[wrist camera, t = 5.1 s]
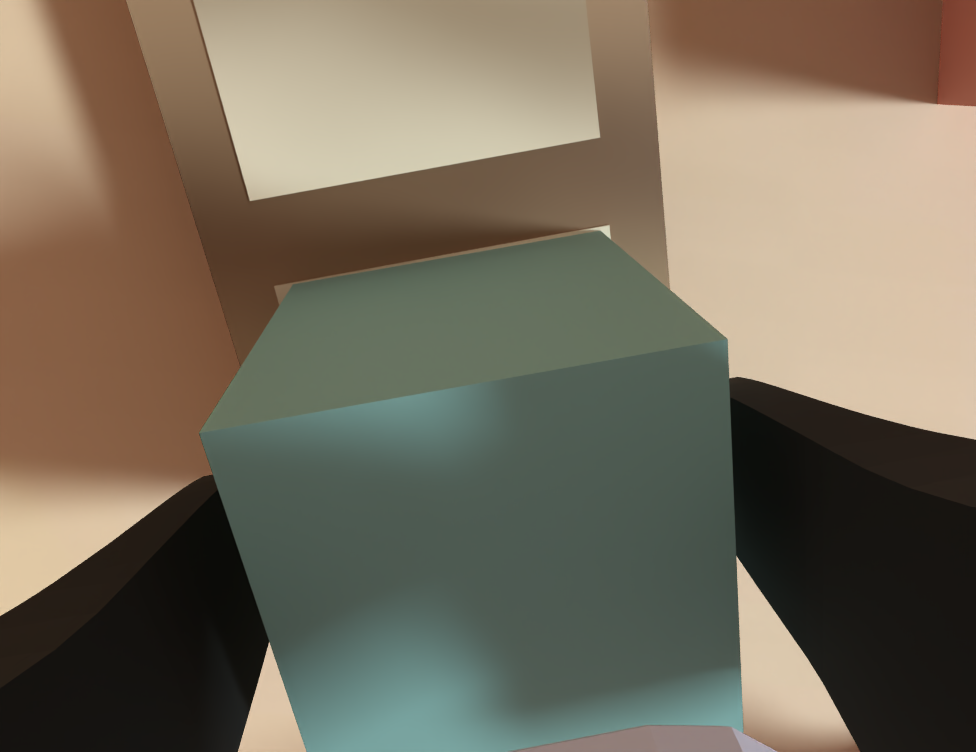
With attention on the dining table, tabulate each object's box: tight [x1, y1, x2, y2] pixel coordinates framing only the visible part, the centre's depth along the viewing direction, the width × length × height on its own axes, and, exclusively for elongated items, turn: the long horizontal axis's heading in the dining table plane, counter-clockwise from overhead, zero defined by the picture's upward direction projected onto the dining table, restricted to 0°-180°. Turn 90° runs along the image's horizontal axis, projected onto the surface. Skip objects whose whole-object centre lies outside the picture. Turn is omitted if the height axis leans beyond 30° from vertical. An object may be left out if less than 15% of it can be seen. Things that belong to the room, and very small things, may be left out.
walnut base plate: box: [126, 0, 670, 367], centre depth 14 cm, size 16×8×2 cm, turn 10°
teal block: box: [199, 231, 743, 752], centre depth 12 cm, size 6×6×6 cm
